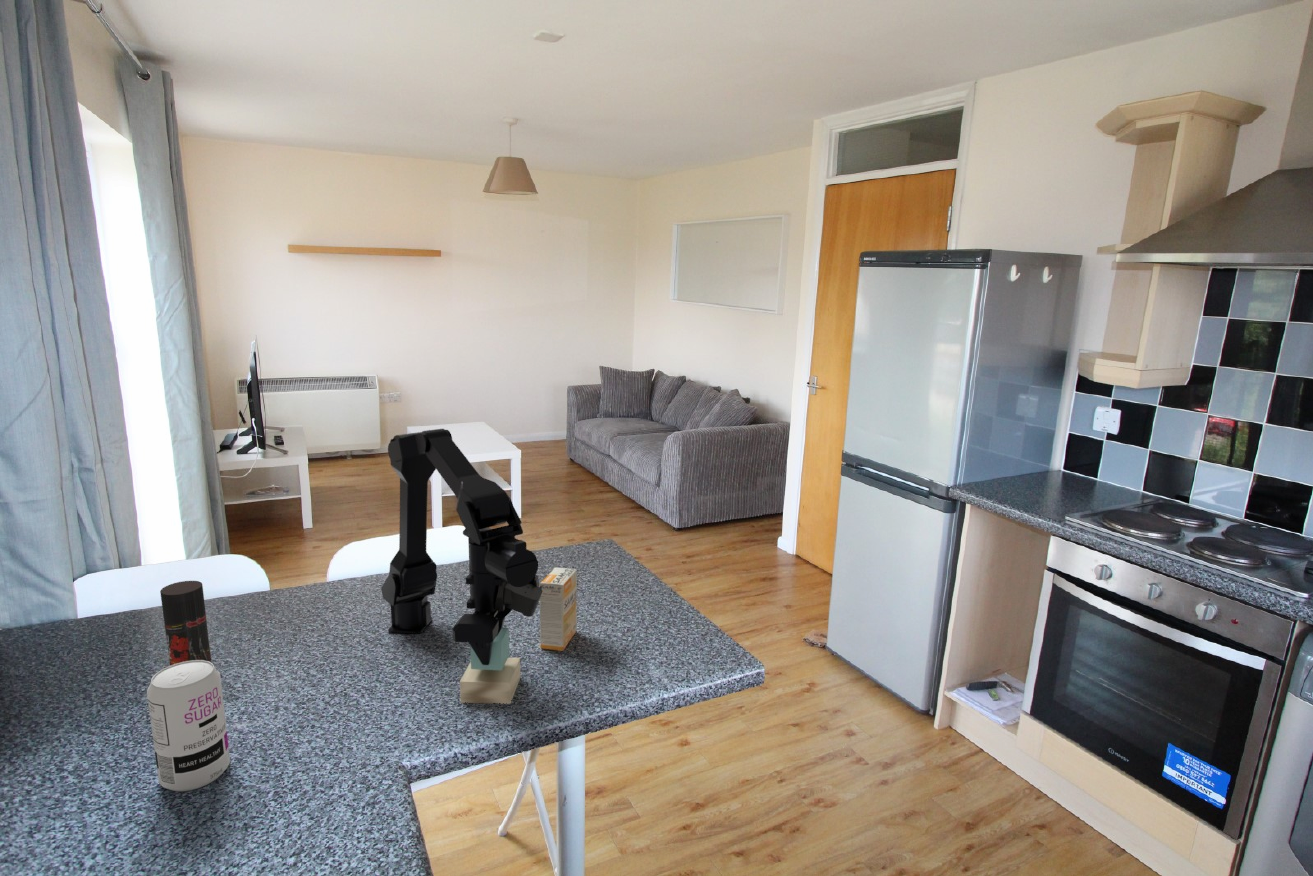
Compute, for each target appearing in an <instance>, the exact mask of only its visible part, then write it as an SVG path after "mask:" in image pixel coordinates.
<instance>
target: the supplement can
mask: <svg viewBox="0 0 1313 876" xmlns="http://www.w3.org/2000/svg"><path fill="white" fill-rule="evenodd" d="M211 662H212V661H211ZM211 662H209V661H204V660H192V661H186V662H181V663H177V664H174V665H171V666H170V665H168V666H166V667H165V668H162V669H160V670H159V671H157V672H156V673H154V674H153V676H152V678H151V679H150V680H151V682H150V683H149V686H148V688H147V689H146V697H147V705H148V712H149V718H150V719H149V720H150V726H151V734H152V740H153V747H154V756H155V764H156V769H157V776H158V783H159V785H161V786H162V788H164V789H167V790H168V791H169V790H170V791H173V792H189V791H193V790H196V789H197V790H198V789H200V788H202V787H204V786H207V785H209V784H210V783H213V782H214V781H216V780H217V779H218V778H219V777H221V776H222V774H224V772H225V771H226V770H227V769H228V767H229V765H230V762H231V756H230V748H229V747H230V746H229V740H228V730H227V723H226V712H225V704H224V703H225V702H224V694H223V686H222V679H221V673H220V672H219V670H218V669H216V667H215V666H214V663H211Z"/></svg>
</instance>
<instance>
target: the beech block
mask: <svg viewBox="0 0 1313 876" xmlns="http://www.w3.org/2000/svg"><path fill="white" fill-rule="evenodd" d="M520 680H521V657H508V659H507V661H506V663H505V665H504V667H503V669H502V671H501V670H479V669H471V661H470V662H469V664H468V666H467V668H466V669H465V671H464V673H463V675H462V677H461V679H460V681H459V693H460V697H459V698H460V704H461V703H463V704H464V703H465V702H466V703H465V704H493V703H498V704H497V705H499V703H501V705H504V704H505V705H511V703H512V701H511V700H513V698H514V695H515V694H516V693H515V692H516V691H517V687H518V685H519V682H520ZM467 702H468V703H467ZM503 703H504V704H503ZM506 703H507V704H506Z"/></svg>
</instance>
